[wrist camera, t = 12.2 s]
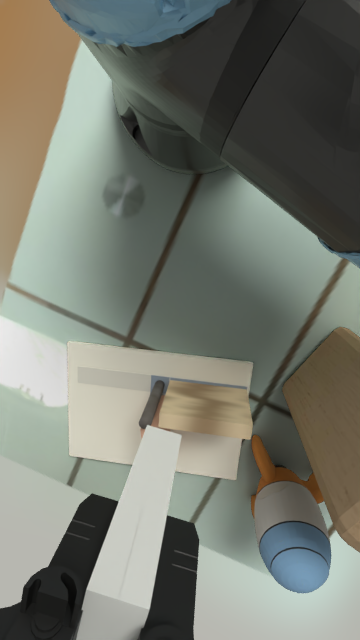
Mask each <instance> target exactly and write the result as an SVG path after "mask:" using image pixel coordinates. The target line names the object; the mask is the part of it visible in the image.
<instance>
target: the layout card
mask: <svg viewBox="0 0 360 640" xmlns="http://www.w3.org/2000/svg"><path fill="white" fill-rule="evenodd" d="M67 363H68V419H69V456H75V457H82V458H88V459H95V460H102V461H109V462H115V463H122V464H129V465H133V462H134V459H135V456H136V454H137V451H138V448H139V446H140V443H141V431H140V429H141V427H140V426H139V421H140V418H141V416H142V413H143V411H144V409H145V406H146V404H147V401H148V399H149V397H150V394H151V392H152V389H153V387H154V385H155V382H156V381H158V380H161V381H163V382H164V384H165V387H164V390H163V393H162V395H166V391H167V388H168V385H169V382H170V380H174V381H182V382H190V383H198V384H206V385H215V386H223V387H231V388H239V389H247V393H248V396H249V390H250V383H251V376H252V370H253V362H249V361H240V360H232V359H223V358H214V357H206V356H197V355H188V354H180V353H171V352H163V351H154V350H145V349H137V348H128V347H119V346H111V345H102V344H94V343H85V342H76V341H68V342H67ZM170 432H173V433H176V434H180V435H182V436H181V442H180V447H179V453H178V458H177V463H176V469H175V471H176V472H183V473H189V474H196V475H203V476H210V477H216V478H223V479H230V480H236V476H237V470H238V463H239V456H240V450H241V443H242V439H240V438H233V437H225V436H218V435H211V434H203V433H196V432H189V431H182V430H174V429H170Z"/></svg>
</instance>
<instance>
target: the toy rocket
mask: <svg viewBox="0 0 360 640" xmlns="http://www.w3.org/2000/svg"><path fill="white" fill-rule="evenodd" d="M252 451H253V454H254V458H255V460H256V463H257V466H258V468H259V470H260V472H261V475H262V477H261V478H260V481H259V485H258V489H257V493H256V495H252V497H251V510H252V515H253V517H254V519H255V531H256V537H257V542H258V547H259V551H260V554H261V556H262V559H263V561H264V563H265V565H266V567H267V569H268V570H269V572H270V573H271V575H272V576H273V577H274V579H275V580H276V581H277V582H278V583H279V584H280V585H282V586H283V587H284V588H286V589H288V590H290V591H293V592H297V593H309V592H312V591H314V590H316V589H318V588H319V587H320V586H321V585H323V583H324V582H325V581H326V580H327V578H328V575H329V569H330V563H331V547H330V540H329V535H328V531H327V527H326V524H325V521H324V518H323V516H322V513H321V511H320V508H319V506H318V504H319V503H321V502H323V501H324V499H323V496H322V493H321V491H320V488H319V486H318V483H317V480H316V478H315V475H314V472H313V473H312V474H311V475H310V476H309V478H308V481H304V480H301V479H299V477H298V476H297V475H296V474H295V473H294V472H292V471H291V470H289V469H287V468H286V467H284V466H282V465H274V464H273V463H272V461H271V458H270V457H269V455H268V453H267V451H266V449H265V447H264V445H263V443H262V440H261V439H260V437H259V436H257V435H253V437H252Z"/></svg>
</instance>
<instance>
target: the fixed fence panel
mask: <svg viewBox="0 0 360 640" xmlns="http://www.w3.org/2000/svg"><path fill="white" fill-rule="evenodd" d="M164 387H165V384H164V382H163V381H161V380H158V381H156V382H155V385H154V387H153V389H152V392H151V394H150V397H149V399H148V401H147V404H146V406H145V409H144V411H143V413H142V416H141V418H140V421H139V426H140V427H141V428H142V429H146V427H147V425H149V426H151V424H152V421H153V418H154V415H155V413H156V410H157V407H158V404H159V401H160V398H161V395H162V393H163V390H164ZM159 427H160V428H167V429H174V430H182V431H189V432H196V433H203V434H211V435H218V436H225V437H233V438H240V439H247V440H251V435H252V429H253V422H252V416H251V410H250V405H249V399H248V393H247V389H239V388H231V387H223V386H215V385H206V384H198V383H190V382H182V381H174V380H170V382H169V385H168V388H167V391H166V395H165V398H164V401H163V404H162V407H161V410H160V413H159Z"/></svg>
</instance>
